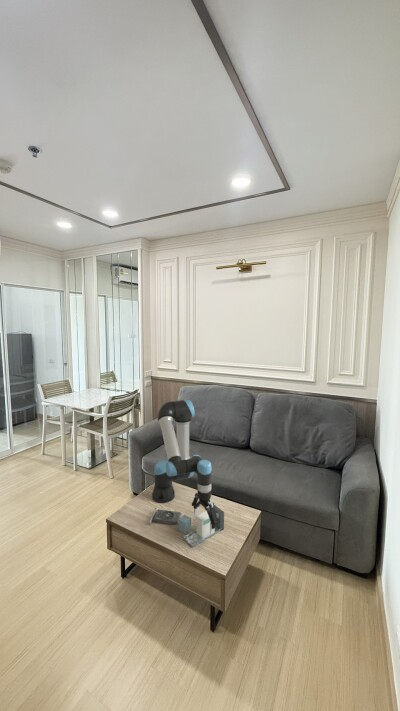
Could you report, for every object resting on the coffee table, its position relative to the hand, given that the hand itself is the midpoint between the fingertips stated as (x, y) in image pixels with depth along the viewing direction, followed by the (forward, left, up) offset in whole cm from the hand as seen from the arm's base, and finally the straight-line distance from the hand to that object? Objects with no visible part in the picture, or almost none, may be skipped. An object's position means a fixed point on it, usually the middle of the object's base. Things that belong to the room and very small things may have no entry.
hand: (204, 526), depth 158 cm
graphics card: (-23, -11, -5) cm, 26 cm away
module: (0, 0, -4) cm, 4 cm away
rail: (0, 0, -4) cm, 4 cm away
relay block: (-10, -6, -5) cm, 13 cm away
